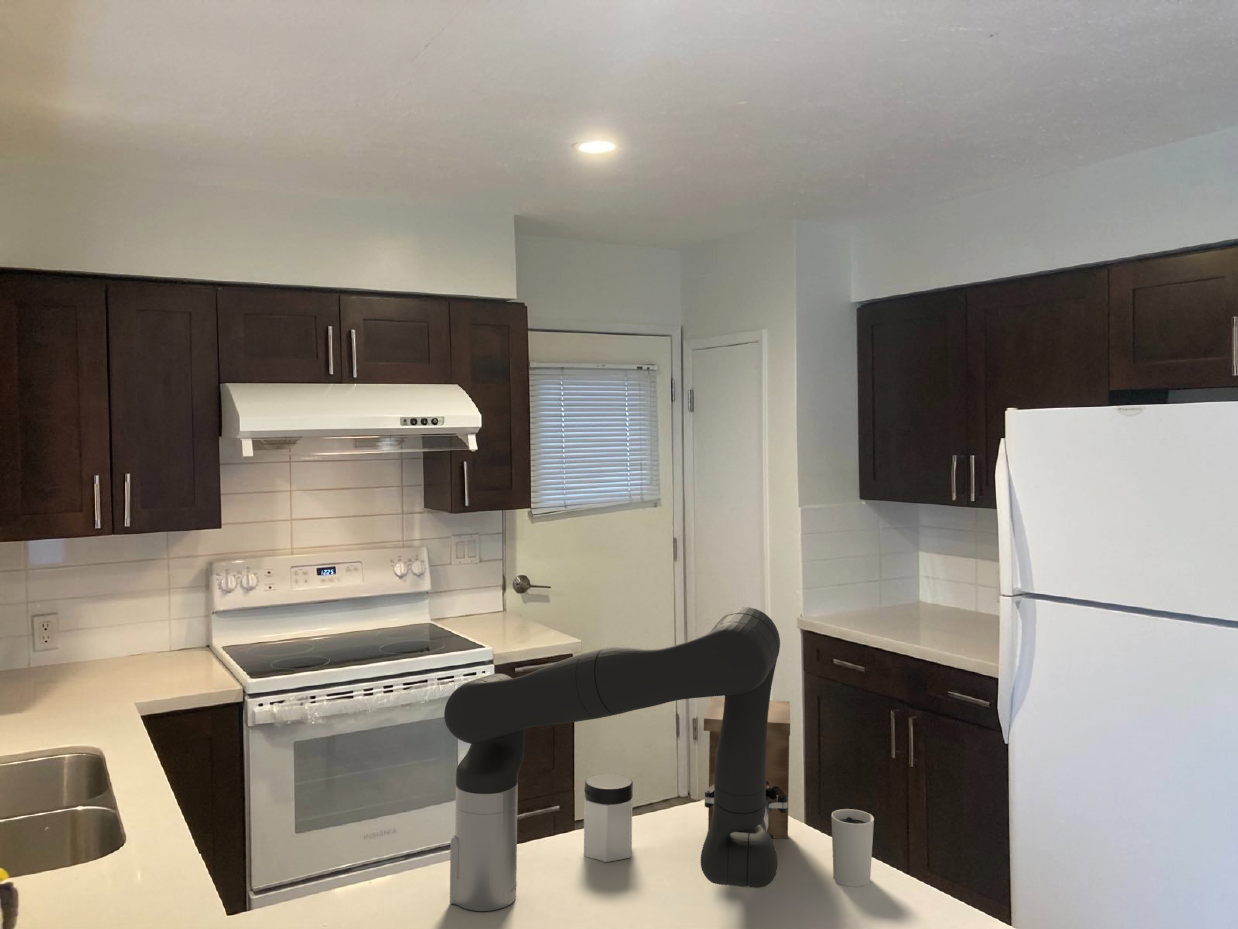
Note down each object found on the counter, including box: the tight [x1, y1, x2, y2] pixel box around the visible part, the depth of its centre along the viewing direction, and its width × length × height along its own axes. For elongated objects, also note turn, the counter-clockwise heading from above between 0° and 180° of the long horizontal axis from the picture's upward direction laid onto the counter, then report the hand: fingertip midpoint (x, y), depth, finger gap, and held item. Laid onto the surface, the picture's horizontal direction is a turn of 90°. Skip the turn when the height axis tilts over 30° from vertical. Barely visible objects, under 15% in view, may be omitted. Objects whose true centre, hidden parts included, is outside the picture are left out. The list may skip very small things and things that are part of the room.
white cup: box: [831, 808, 875, 888], centre depth 157 cm, size 7×7×10 cm
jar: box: [583, 773, 634, 863], centre depth 166 cm, size 9×8×12 cm
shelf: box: [703, 696, 791, 842], centre depth 169 cm, size 14×16×24 cm
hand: (747, 783), depth 170 cm, fingers closed on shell, 4 cm apart
